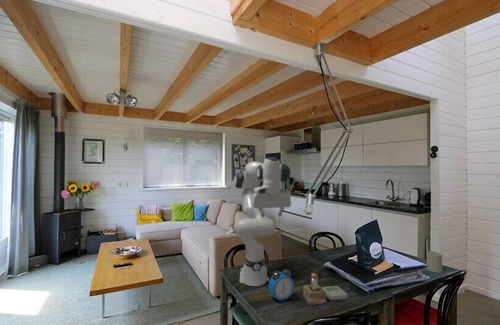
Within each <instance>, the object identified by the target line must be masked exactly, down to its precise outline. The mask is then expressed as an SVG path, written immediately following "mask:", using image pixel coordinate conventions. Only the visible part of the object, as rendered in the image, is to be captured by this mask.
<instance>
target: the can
mask: <svg viewBox="0 0 500 325" xmlns="http://www.w3.org/2000/svg"><path fill="white" fill-rule="evenodd" d="M427 266H428V267H427ZM426 267H427V268H426ZM426 267H425V268H426V270H427V271H430V272H433V273H438V274H439V273H440V274H441V273H443V254H442V253H440V252H437V251H429V250H428V251H426Z"/></svg>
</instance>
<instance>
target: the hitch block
mask: <svg viewBox="0 0 500 325" xmlns="http://www.w3.org/2000/svg"><path fill="white" fill-rule="evenodd" d="M302 297H303V298H304V299H305V301H306V302H307V304H309V306H317V305H316V304H318V305H324V304H323V303H326V304H327V296H326V292H325V291H324V290H323V289H322V287H321V286H320V285H319V284H318V283H317V291H311V284H306V285H303V286H302Z"/></svg>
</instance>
